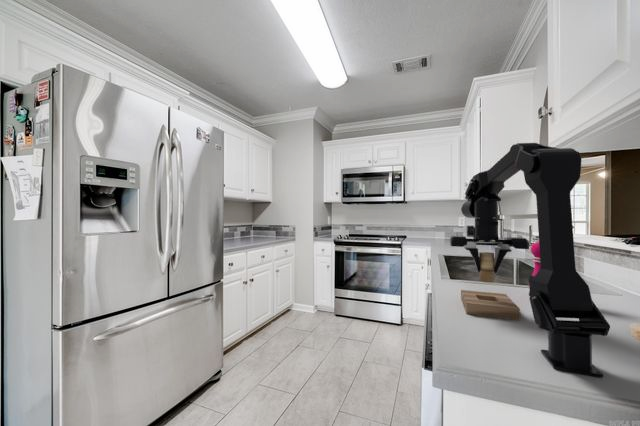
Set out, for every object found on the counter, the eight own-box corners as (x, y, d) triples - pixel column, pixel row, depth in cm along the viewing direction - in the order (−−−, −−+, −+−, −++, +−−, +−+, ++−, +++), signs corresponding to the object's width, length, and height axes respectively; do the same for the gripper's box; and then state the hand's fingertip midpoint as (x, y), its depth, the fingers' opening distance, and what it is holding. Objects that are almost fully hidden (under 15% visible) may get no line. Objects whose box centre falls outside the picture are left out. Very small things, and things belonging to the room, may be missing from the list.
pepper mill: (564, 304, 80) (563, 238, 80) (537, 303, 82) (536, 237, 82) (549, 297, 87) (548, 236, 87) (524, 296, 89) (523, 236, 89)
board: (519, 320, 68) (519, 308, 68) (466, 313, 72) (466, 302, 72) (505, 303, 81) (505, 293, 81) (461, 299, 85) (461, 289, 85)
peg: (495, 282, 74) (495, 254, 74) (480, 281, 76) (480, 253, 76) (493, 280, 78) (492, 252, 78) (478, 278, 79) (478, 251, 79)
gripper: (516, 218, 81) (517, 269, 80) (448, 218, 88) (449, 265, 88) (529, 218, 70) (530, 277, 70) (451, 218, 78) (451, 271, 77)
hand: (486, 272), depth 77 cm, fingers closed on peg, 4 cm apart
